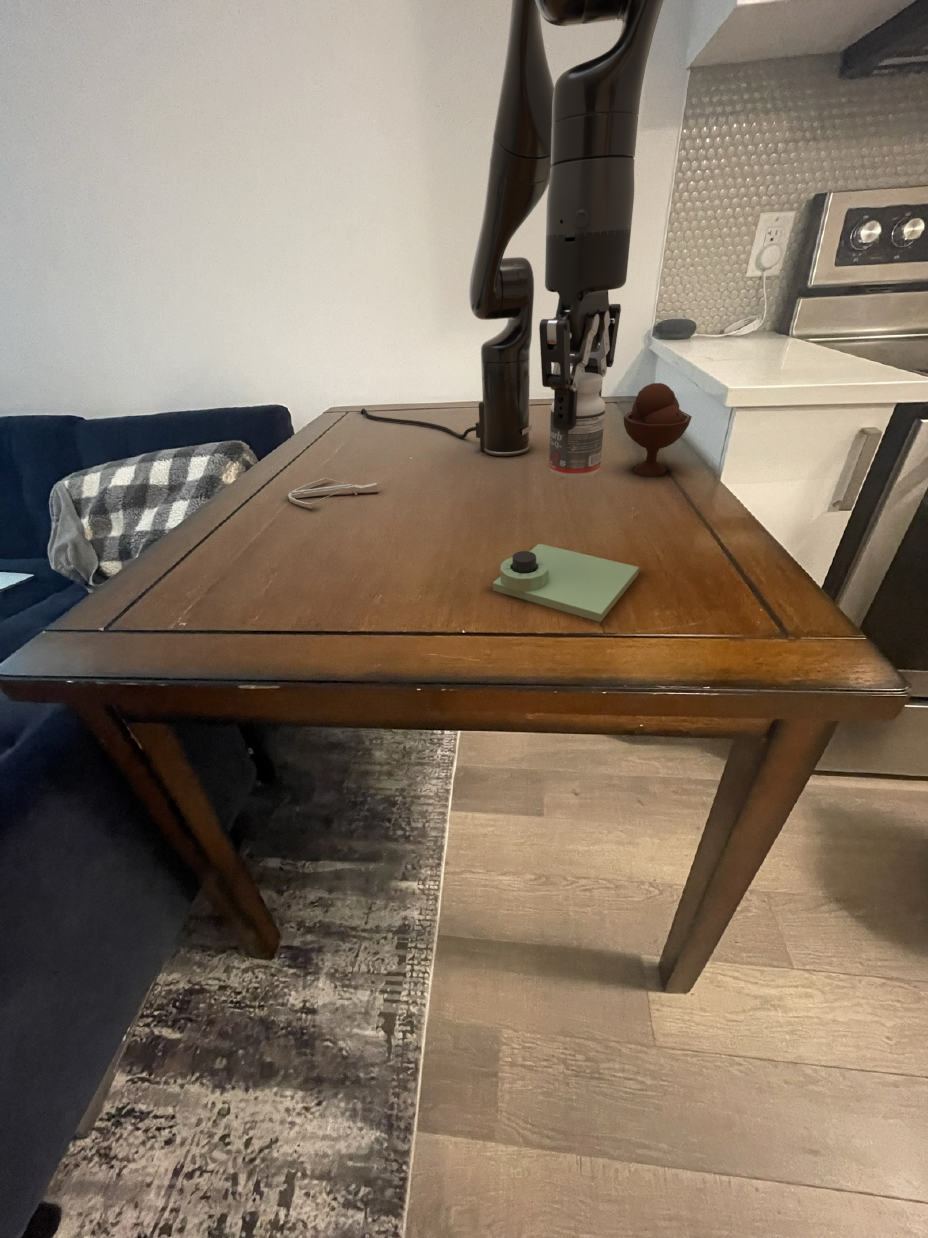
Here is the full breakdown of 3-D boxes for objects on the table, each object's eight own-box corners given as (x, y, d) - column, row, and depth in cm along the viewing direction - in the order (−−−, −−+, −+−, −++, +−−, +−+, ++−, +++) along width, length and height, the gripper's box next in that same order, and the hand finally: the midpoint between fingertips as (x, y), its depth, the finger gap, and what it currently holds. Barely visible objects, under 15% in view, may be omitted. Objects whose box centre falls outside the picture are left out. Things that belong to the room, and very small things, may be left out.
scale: (491, 592, 67) (490, 570, 65) (538, 551, 75) (539, 531, 73) (599, 624, 60) (601, 601, 58) (638, 575, 68) (641, 553, 66)
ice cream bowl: (686, 481, 93) (702, 388, 84) (618, 480, 95) (628, 389, 86) (679, 461, 101) (693, 374, 93) (617, 460, 103) (625, 376, 95)
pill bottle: (544, 464, 64) (546, 373, 58) (591, 460, 64) (598, 369, 58) (554, 481, 59) (558, 383, 53) (606, 476, 59) (615, 379, 54)
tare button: (508, 571, 65) (508, 558, 64) (519, 561, 67) (519, 548, 66) (528, 577, 64) (529, 563, 63) (539, 566, 66) (540, 554, 65)
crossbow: (281, 516, 92) (278, 505, 91) (299, 489, 103) (296, 478, 102) (374, 505, 91) (371, 493, 90) (382, 478, 102) (380, 468, 101)
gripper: (582, 229, 55) (573, 402, 65) (511, 232, 46) (513, 434, 55) (655, 224, 52) (634, 408, 61) (595, 225, 42) (581, 443, 52)
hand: (577, 420), depth 58 cm, fingers closed on pill bottle, 5 cm apart
